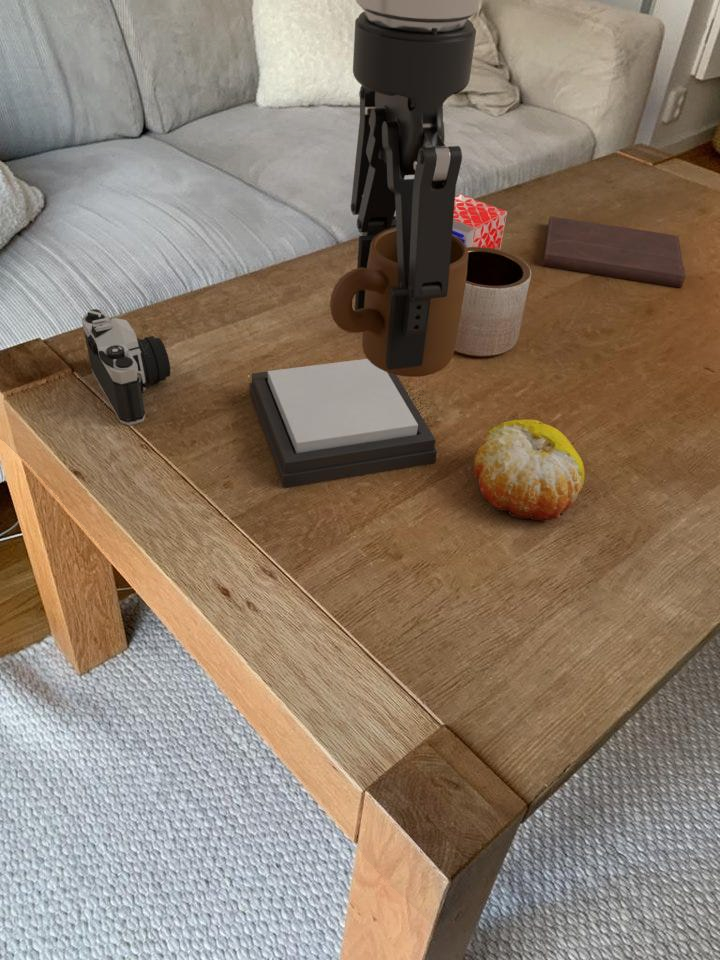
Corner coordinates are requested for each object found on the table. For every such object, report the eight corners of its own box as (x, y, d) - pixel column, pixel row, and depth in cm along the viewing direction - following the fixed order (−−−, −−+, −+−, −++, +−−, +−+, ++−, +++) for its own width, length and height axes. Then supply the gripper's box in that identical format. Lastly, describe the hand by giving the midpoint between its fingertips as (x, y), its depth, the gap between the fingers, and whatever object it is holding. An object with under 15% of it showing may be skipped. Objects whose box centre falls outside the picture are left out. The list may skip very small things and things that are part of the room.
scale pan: (296, 455, 80) (296, 442, 79) (267, 382, 89) (267, 370, 88) (416, 436, 83) (418, 424, 82) (377, 368, 92) (378, 356, 91)
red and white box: (497, 264, 119) (507, 211, 113) (466, 282, 114) (475, 227, 109) (452, 245, 122) (460, 193, 117) (420, 262, 118) (427, 209, 112)
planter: (413, 330, 103) (421, 260, 97) (472, 306, 109) (483, 238, 103) (476, 370, 97) (489, 298, 91) (534, 341, 103) (551, 272, 97)
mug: (361, 411, 61) (369, 297, 54) (299, 365, 65) (300, 254, 59) (472, 360, 67) (491, 253, 61) (409, 320, 71) (421, 216, 65)
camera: (192, 411, 88) (183, 335, 83) (121, 431, 85) (108, 353, 79) (148, 359, 97) (138, 288, 91) (82, 375, 93) (68, 302, 88)
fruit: (444, 466, 83) (475, 399, 79) (521, 467, 88) (554, 404, 84) (503, 538, 75) (541, 468, 71) (584, 534, 81) (623, 469, 77)
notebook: (548, 224, 130) (550, 212, 129) (675, 244, 127) (679, 232, 126) (542, 266, 119) (545, 254, 118) (681, 289, 116) (685, 276, 115)
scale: (283, 488, 80) (283, 464, 78) (249, 394, 91) (248, 372, 89) (435, 463, 84) (439, 440, 82) (384, 376, 95) (387, 354, 93)
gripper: (546, 61, 44) (480, 405, 59) (417, -21, 58) (391, 272, 73) (414, 64, 42) (381, 418, 57) (315, -22, 56) (309, 279, 72)
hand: (386, 336), depth 65 cm, fingers closed on mug, 8 cm apart
